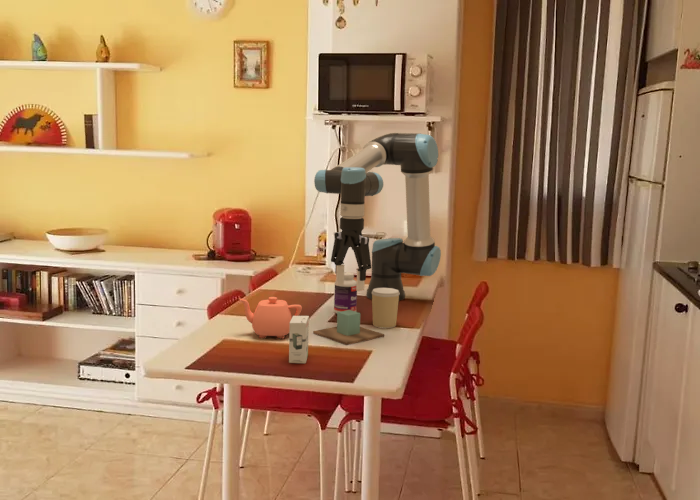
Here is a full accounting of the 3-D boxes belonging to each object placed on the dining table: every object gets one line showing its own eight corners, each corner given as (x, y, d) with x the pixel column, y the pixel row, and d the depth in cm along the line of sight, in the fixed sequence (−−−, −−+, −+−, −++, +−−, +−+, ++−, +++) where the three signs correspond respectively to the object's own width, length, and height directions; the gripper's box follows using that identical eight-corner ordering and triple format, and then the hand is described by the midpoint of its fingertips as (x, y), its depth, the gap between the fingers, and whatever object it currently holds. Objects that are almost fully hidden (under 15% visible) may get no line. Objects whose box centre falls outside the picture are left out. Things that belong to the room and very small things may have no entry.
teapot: (240, 328, 246) (241, 292, 244) (302, 329, 246) (303, 293, 244) (235, 340, 232) (235, 301, 230) (300, 341, 233) (301, 303, 231)
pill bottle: (353, 316, 265) (355, 276, 262) (331, 315, 266) (332, 275, 264) (358, 311, 273) (359, 272, 270) (336, 309, 274) (337, 270, 272)
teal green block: (348, 329, 245) (349, 309, 244) (359, 333, 241) (360, 313, 240) (336, 332, 241) (337, 312, 240) (347, 335, 238) (348, 315, 237)
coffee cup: (401, 323, 258) (402, 289, 256) (393, 330, 249) (395, 294, 247) (375, 320, 261) (376, 286, 259) (366, 326, 252) (368, 291, 250)
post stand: (350, 325, 253) (350, 309, 252) (383, 336, 241) (384, 318, 240) (313, 333, 242) (313, 315, 241) (346, 345, 230) (346, 326, 229)
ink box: (291, 353, 220) (292, 314, 218) (308, 354, 220) (309, 315, 218) (288, 363, 211) (288, 322, 210) (305, 363, 211) (306, 322, 209)
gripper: (320, 214, 241) (318, 283, 244) (367, 221, 225) (364, 295, 229) (338, 212, 246) (336, 280, 249) (385, 220, 230) (382, 292, 233)
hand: (349, 287), depth 239 cm, fingers open, 9 cm apart
